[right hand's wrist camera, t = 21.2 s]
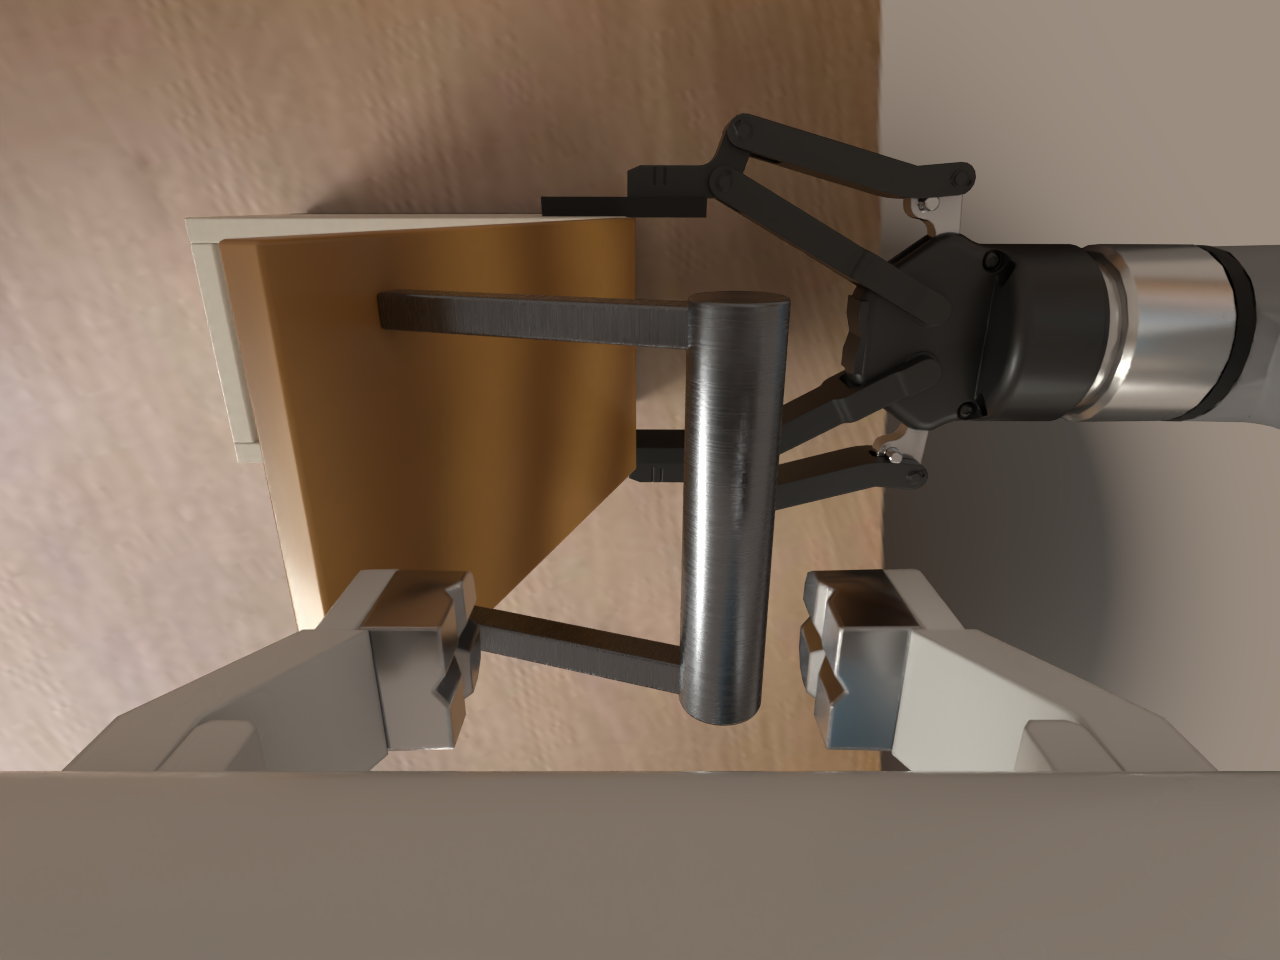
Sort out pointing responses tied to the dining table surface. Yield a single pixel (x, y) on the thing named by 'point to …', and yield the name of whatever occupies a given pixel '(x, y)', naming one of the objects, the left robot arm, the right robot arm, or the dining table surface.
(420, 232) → the lid
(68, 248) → the dining table surface
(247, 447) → the chest
